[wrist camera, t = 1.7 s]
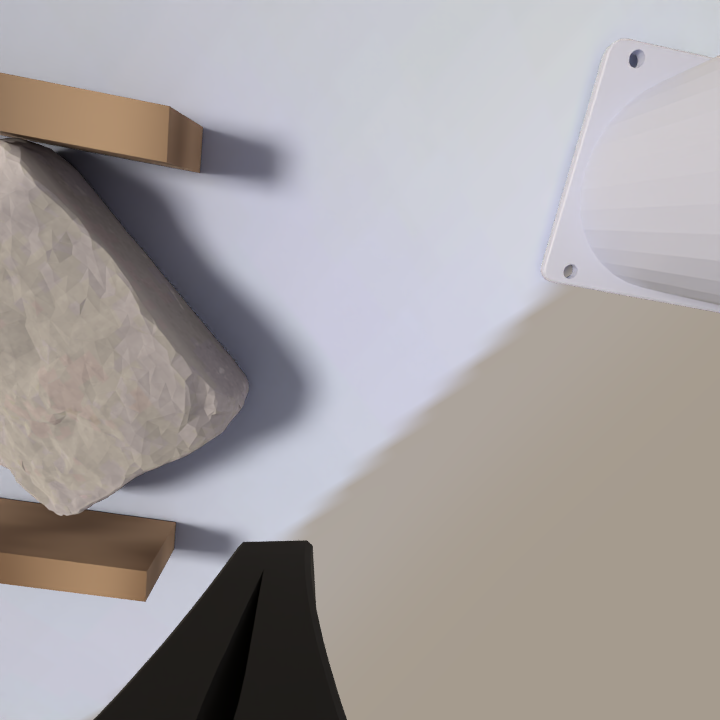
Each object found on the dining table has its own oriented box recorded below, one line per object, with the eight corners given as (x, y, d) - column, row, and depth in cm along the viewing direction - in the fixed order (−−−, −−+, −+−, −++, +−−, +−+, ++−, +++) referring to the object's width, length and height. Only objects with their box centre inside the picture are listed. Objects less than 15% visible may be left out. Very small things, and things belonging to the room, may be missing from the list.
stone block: (130, 478, 22) (279, 381, 19) (52, 553, 18) (228, 444, 14) (-59, 279, 20) (73, 123, 16) (-204, 309, 15) (-67, 103, 12)
